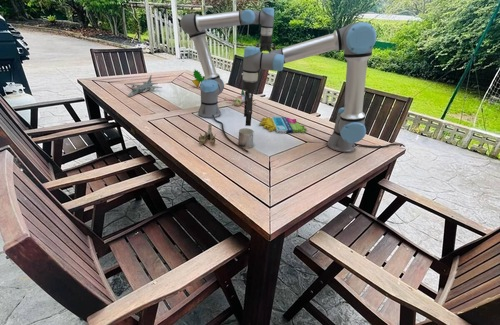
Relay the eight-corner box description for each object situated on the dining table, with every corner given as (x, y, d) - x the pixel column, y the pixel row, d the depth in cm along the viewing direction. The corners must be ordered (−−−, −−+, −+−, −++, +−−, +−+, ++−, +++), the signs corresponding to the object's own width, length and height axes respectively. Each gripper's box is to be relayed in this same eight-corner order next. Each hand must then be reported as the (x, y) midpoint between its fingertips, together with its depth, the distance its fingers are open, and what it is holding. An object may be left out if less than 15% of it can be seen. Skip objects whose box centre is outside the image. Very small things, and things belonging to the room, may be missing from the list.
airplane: (122, 86, 237) (119, 75, 232) (157, 84, 250) (156, 74, 245) (126, 99, 209) (123, 86, 204) (166, 96, 222) (165, 84, 217)
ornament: (209, 91, 261) (213, 76, 259) (211, 91, 253) (215, 75, 251) (188, 84, 252) (192, 69, 250) (190, 84, 245) (194, 68, 243)
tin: (245, 140, 152) (246, 127, 148) (255, 145, 147) (256, 131, 143) (235, 144, 147) (235, 130, 143) (245, 149, 142) (246, 135, 138)
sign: (308, 131, 166) (261, 129, 163) (307, 133, 167) (261, 132, 164) (299, 117, 188) (257, 116, 186) (298, 119, 189) (257, 118, 186)
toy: (261, 91, 228) (254, 99, 202) (261, 99, 231) (253, 108, 205) (231, 87, 233) (220, 95, 207) (230, 95, 236) (219, 104, 210)
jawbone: (218, 127, 153) (216, 117, 144) (216, 150, 146) (215, 141, 137) (202, 127, 153) (199, 117, 144) (200, 150, 146) (197, 140, 137)
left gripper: (252, 35, 161) (250, 71, 171) (285, 36, 172) (281, 70, 182) (246, 34, 166) (245, 69, 176) (278, 35, 177) (275, 68, 188)
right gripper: (241, 75, 141) (239, 113, 151) (243, 86, 119) (241, 129, 129) (254, 75, 141) (252, 113, 152) (260, 87, 120) (256, 130, 130)
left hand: (263, 69), depth 179 cm, fingers open, 13 cm apart
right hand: (247, 120), depth 141 cm, fingers open, 13 cm apart
